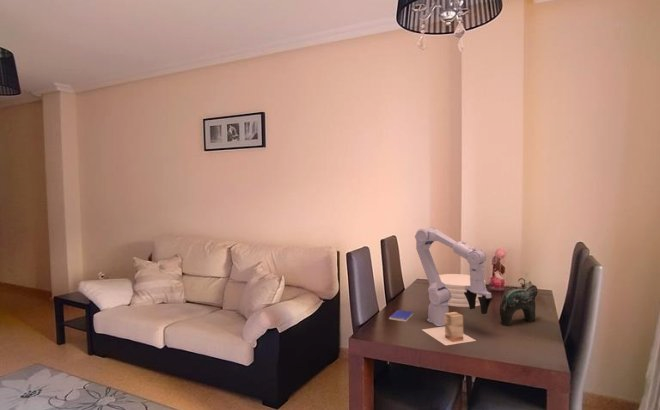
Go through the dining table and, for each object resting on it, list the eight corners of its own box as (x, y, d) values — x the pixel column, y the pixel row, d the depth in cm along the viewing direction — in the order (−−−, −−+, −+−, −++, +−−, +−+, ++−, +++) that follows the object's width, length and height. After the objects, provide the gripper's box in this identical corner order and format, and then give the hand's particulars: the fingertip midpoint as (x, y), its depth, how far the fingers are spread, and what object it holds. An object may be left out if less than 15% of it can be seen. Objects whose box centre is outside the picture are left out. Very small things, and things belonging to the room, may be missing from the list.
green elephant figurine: (529, 317, 178) (529, 275, 177) (541, 321, 172) (541, 278, 171) (497, 323, 171) (496, 279, 170) (508, 328, 165) (508, 282, 164)
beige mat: (421, 331, 163) (421, 329, 163) (449, 327, 167) (449, 325, 167) (445, 346, 146) (445, 345, 146) (476, 342, 150) (476, 340, 150)
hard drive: (405, 319, 176) (413, 311, 187) (389, 316, 180) (397, 309, 191) (405, 322, 176) (413, 315, 187) (389, 320, 180) (397, 312, 191)
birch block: (445, 337, 154) (444, 313, 154) (455, 335, 155) (455, 311, 155) (452, 341, 149) (452, 316, 149) (463, 340, 151) (463, 315, 150)
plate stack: (494, 306, 196) (494, 284, 195) (440, 307, 196) (439, 285, 196) (474, 292, 224) (474, 273, 223) (427, 293, 224) (427, 274, 224)
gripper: (497, 281, 153) (498, 314, 153) (474, 275, 167) (475, 305, 167) (482, 283, 151) (483, 316, 151) (460, 276, 165) (461, 307, 165)
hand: (478, 311), depth 159 cm, fingers open, 7 cm apart
